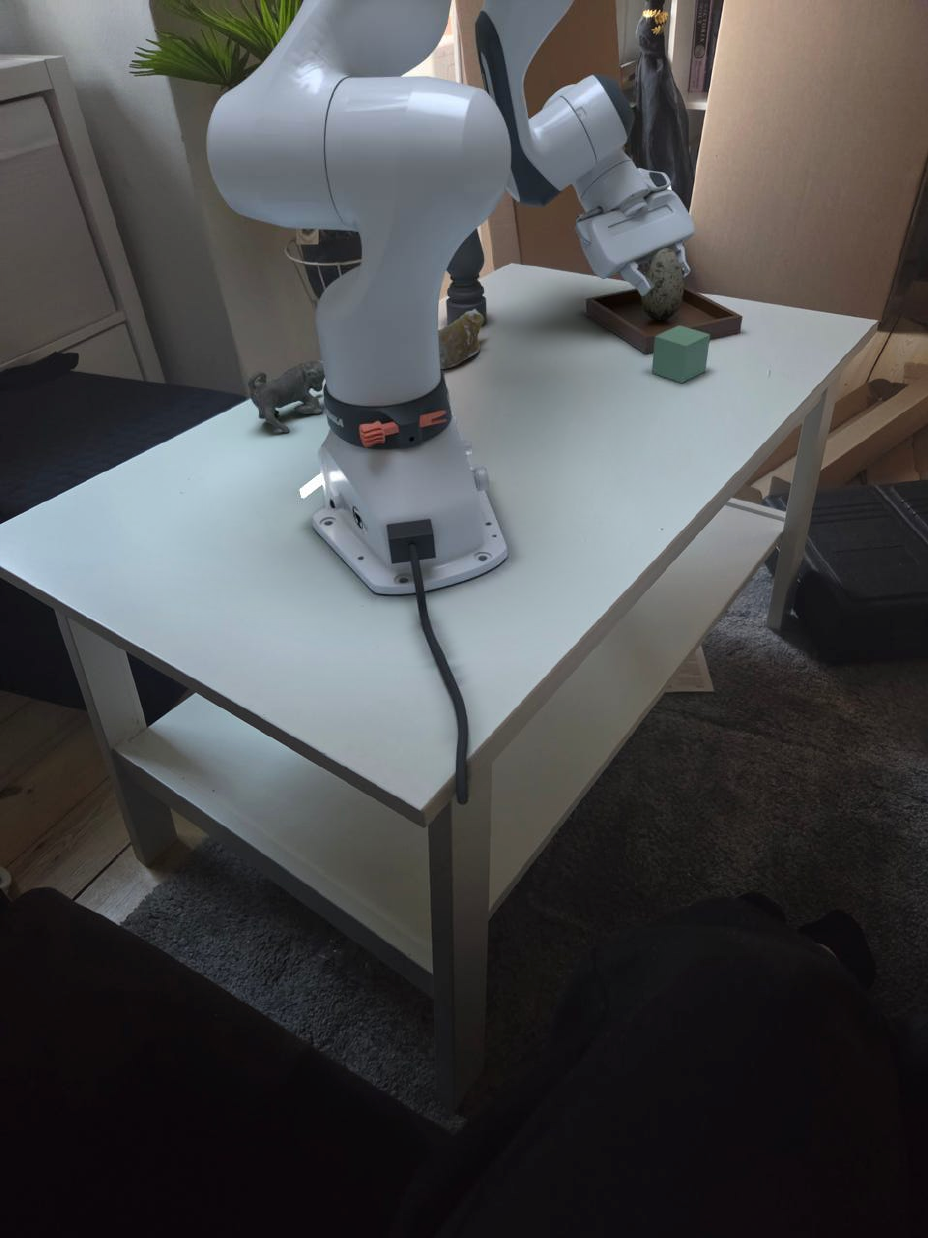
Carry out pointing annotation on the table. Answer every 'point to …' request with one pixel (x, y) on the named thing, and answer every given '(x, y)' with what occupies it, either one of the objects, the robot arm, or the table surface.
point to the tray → (640, 330)
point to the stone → (459, 339)
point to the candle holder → (466, 280)
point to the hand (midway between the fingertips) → (667, 284)
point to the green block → (680, 353)
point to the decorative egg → (664, 286)
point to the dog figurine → (287, 391)
